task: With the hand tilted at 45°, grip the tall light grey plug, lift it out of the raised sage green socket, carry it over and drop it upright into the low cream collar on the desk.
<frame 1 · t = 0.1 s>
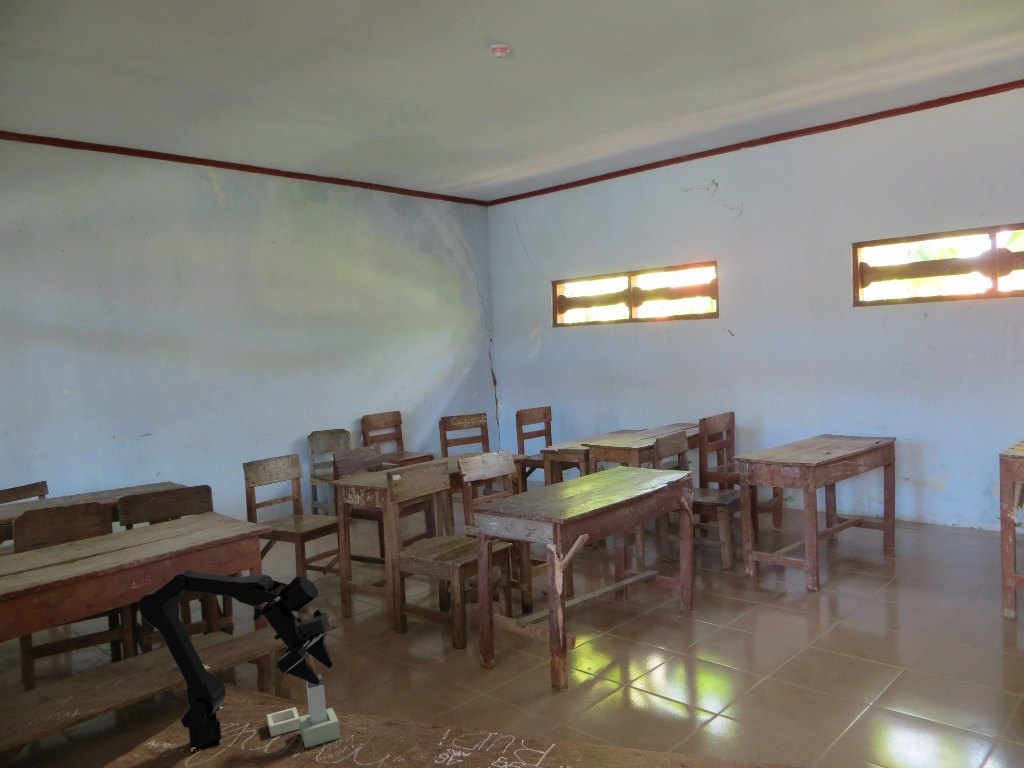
hand: (324, 675, 174), 15 cm above the table, tool tilted 35°, fingers open, 9 cm apart
raised socket: (320, 735, 176), on the table
plug: (319, 727, 176), point 2 cm above the table, touching raised socket
low collar: (284, 726, 182), on the table
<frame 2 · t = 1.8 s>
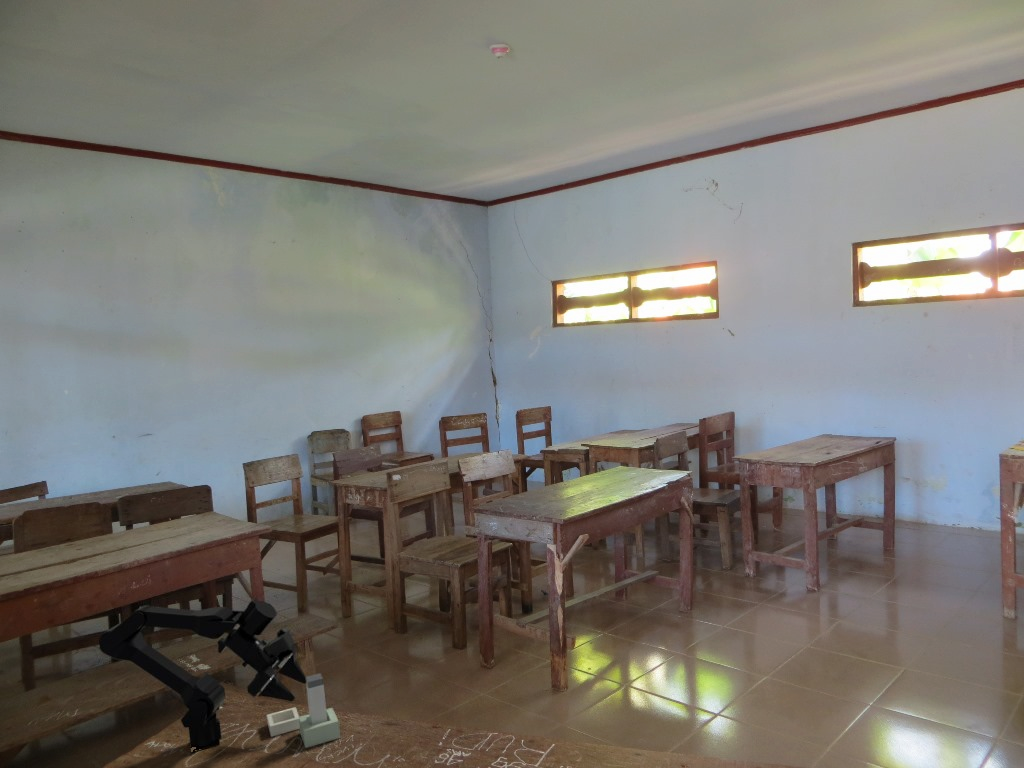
hand: (300, 690, 175), 11 cm above the table, tool tilted 45°, fingers open, 9 cm apart
nothing on the table moved.
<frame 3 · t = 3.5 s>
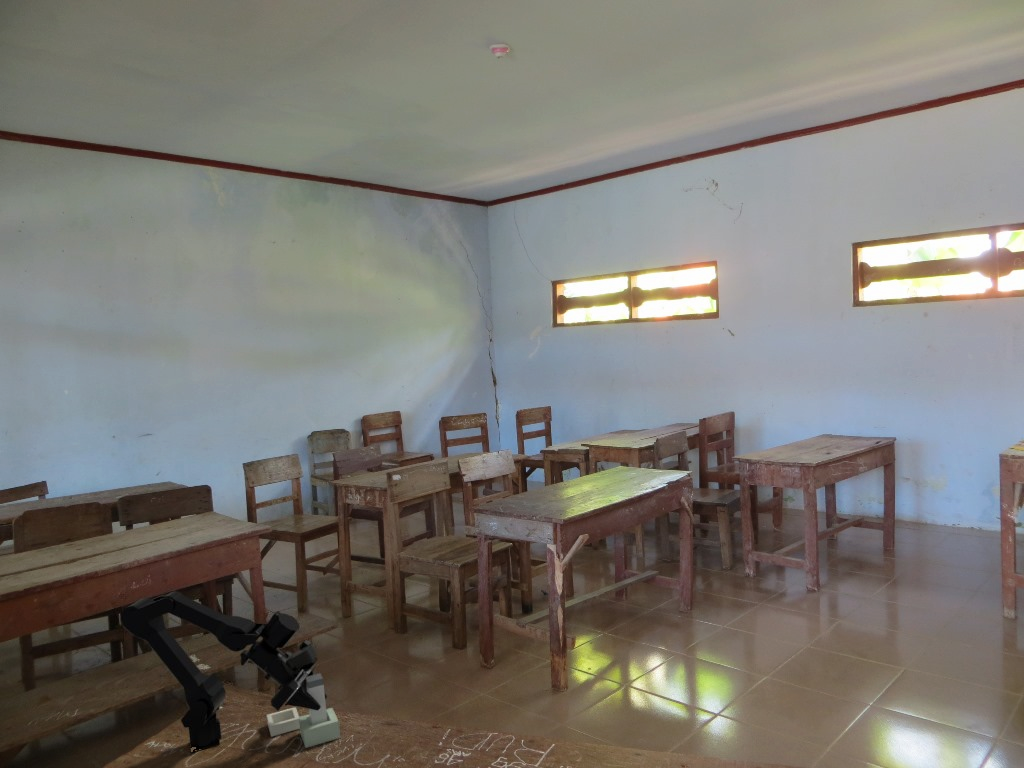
hand: (322, 703, 175), 8 cm above the table, tool tilted 45°, fingers closed on plug, 5 cm apart
plug: (319, 727, 176), point 2 cm above the table, touching gripper, raised socket
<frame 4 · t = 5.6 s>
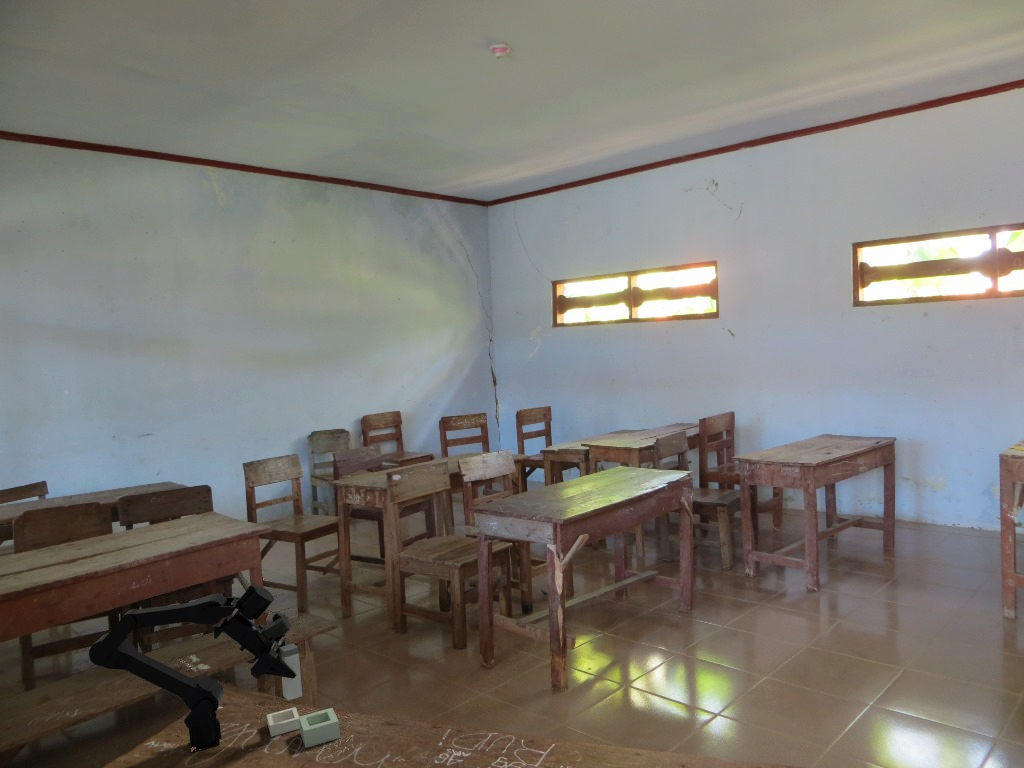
hand: (296, 672, 180), 14 cm above the table, tool tilted 45°, fingers closed on plug, 5 cm apart
plug: (292, 695, 180), point 8 cm above the table, touching gripper
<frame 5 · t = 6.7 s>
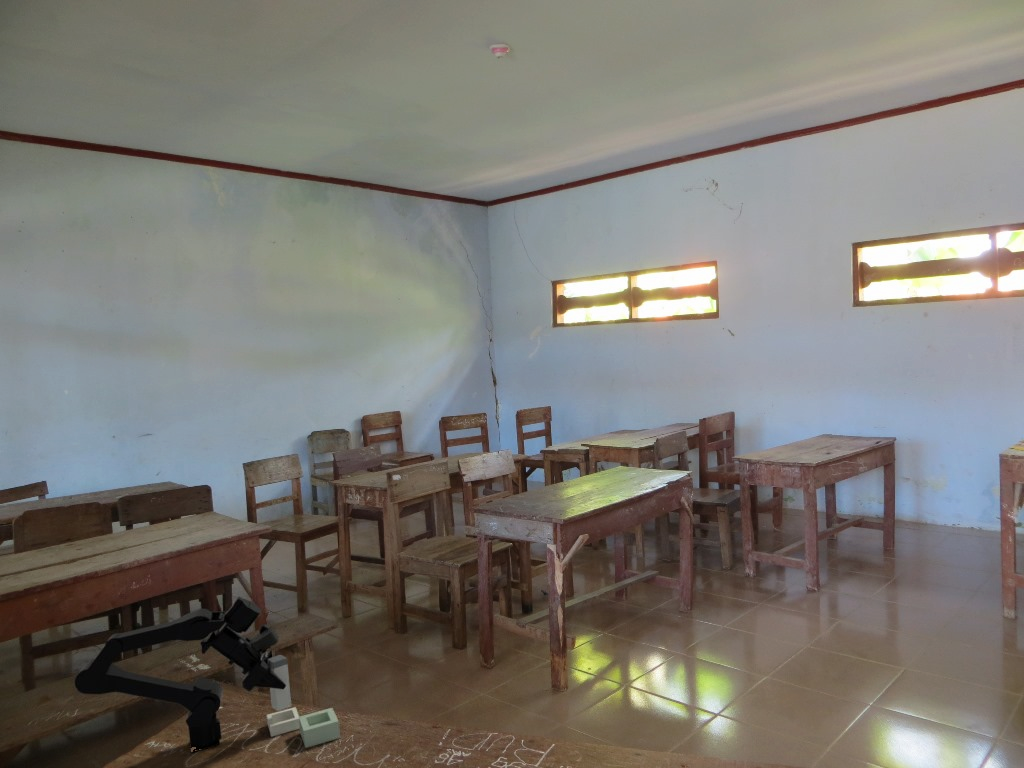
hand: (285, 683, 182), 11 cm above the table, tool tilted 45°, fingers closed on plug, 5 cm apart
plug: (281, 706, 182), point 5 cm above the table, touching gripper
when the fingers open (7 cm above the table, at t = 7.7 s): plug drops 2 cm, resting in low collar.
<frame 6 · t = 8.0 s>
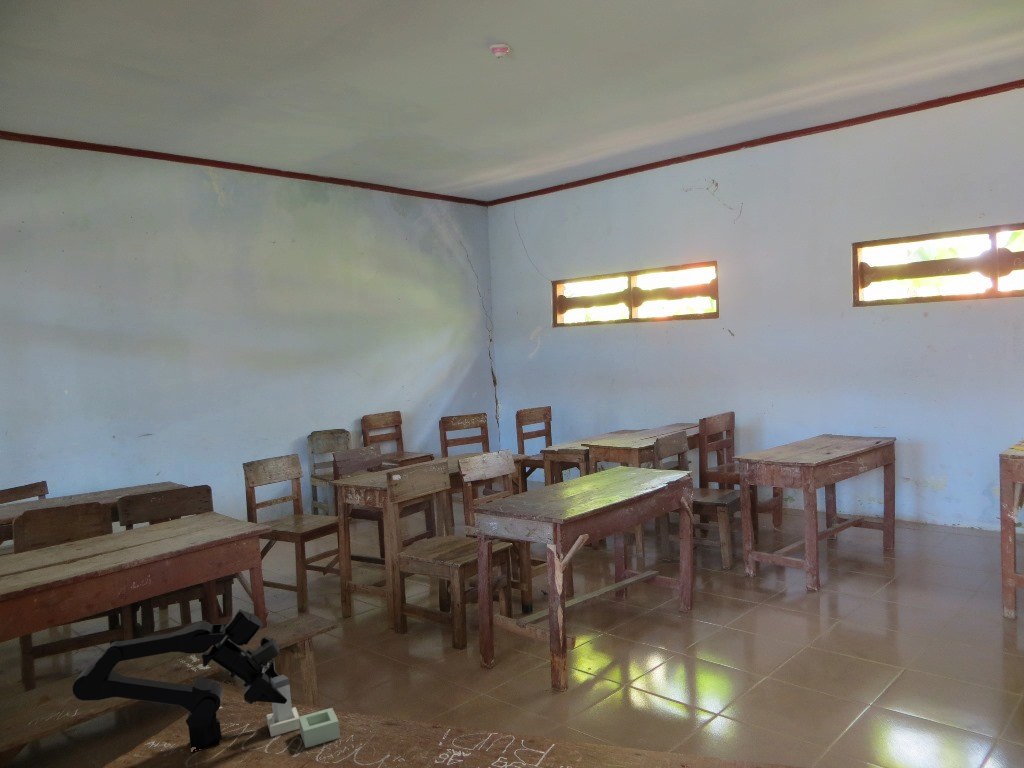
hand: (286, 695, 182), 8 cm above the table, tool tilted 45°, fingers open, 7 cm apart
plug: (283, 726, 182), resting in low collar
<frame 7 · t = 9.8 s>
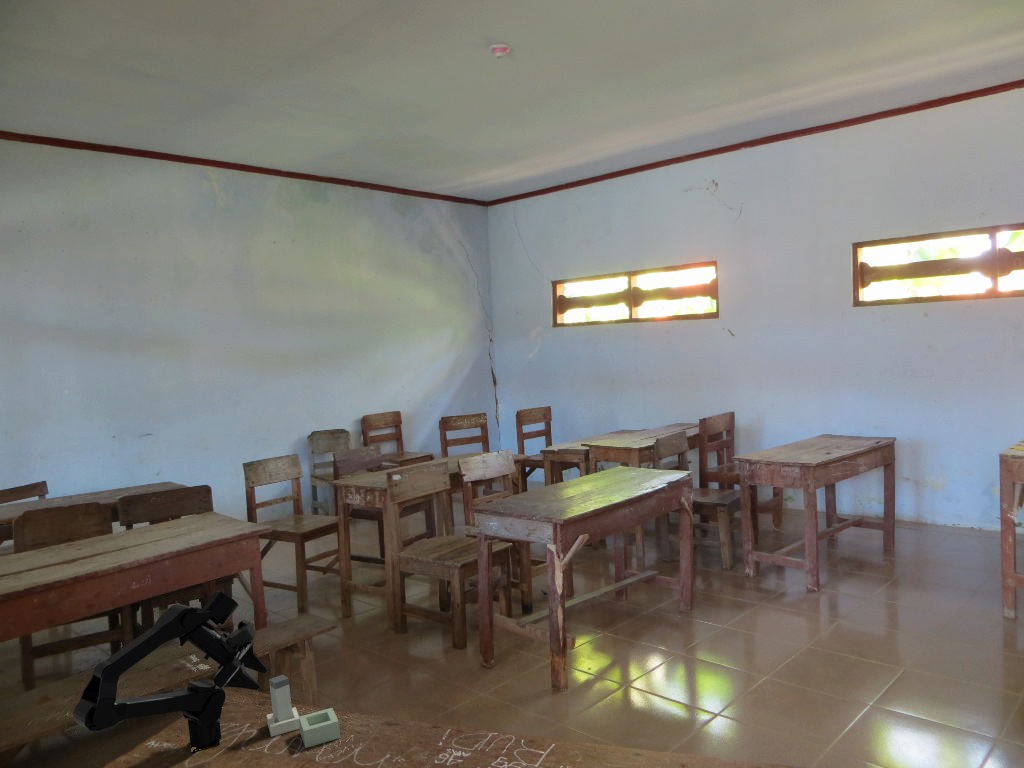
hand: (262, 679, 180), 13 cm above the table, tool tilted 45°, fingers open, 9 cm apart
nothing on the table moved.
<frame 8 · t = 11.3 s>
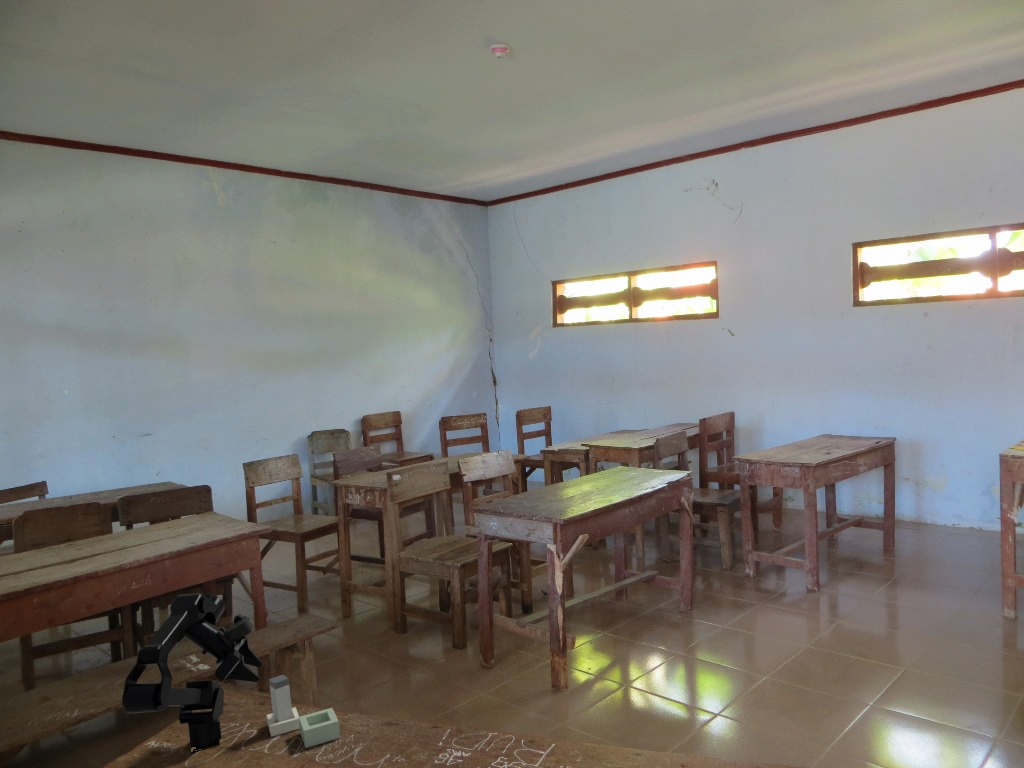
hand: (259, 672, 182), 14 cm above the table, tool tilted 45°, fingers open, 9 cm apart
nothing on the table moved.
at the end: plug 0.1 cm off-centre on the low collar, point 0.0 cm above the low collar's base; plug tilted 0°; the gripper is holding nothing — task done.
